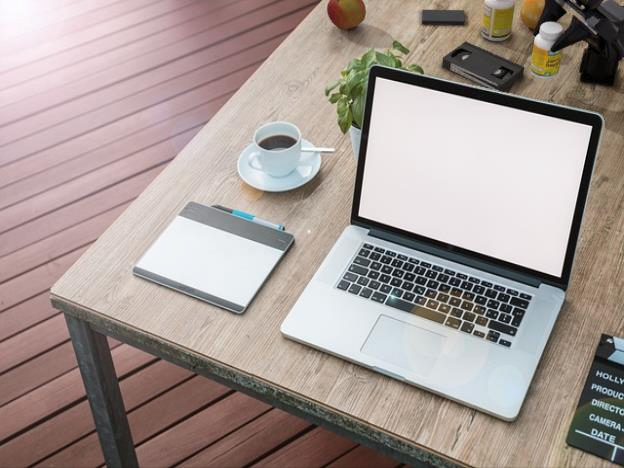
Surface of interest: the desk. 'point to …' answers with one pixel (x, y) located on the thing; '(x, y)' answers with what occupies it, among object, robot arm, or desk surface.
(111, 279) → the desk surface
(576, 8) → the robot arm
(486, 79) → the vhs tape
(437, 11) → the scrub mat
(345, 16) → the apple
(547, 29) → the supplement bottle
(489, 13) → the pill bottle
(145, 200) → the desk surface
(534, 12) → the fruit
